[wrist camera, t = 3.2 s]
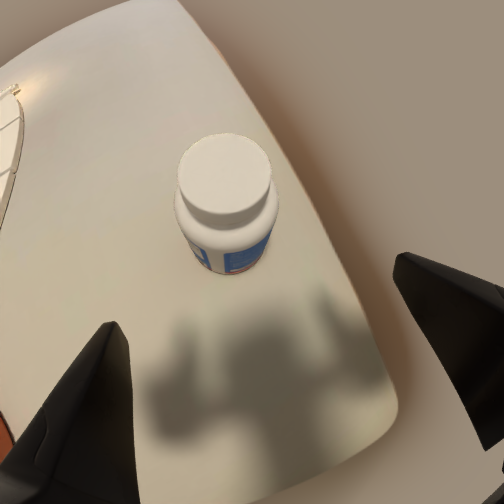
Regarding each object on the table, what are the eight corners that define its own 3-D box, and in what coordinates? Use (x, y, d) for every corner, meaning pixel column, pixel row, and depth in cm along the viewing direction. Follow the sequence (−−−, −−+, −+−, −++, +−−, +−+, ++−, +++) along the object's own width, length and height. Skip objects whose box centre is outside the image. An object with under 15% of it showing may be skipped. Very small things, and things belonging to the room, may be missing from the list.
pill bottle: (270, 212, 21) (299, 134, 12) (257, 281, 20) (283, 245, 11) (200, 198, 21) (183, 114, 12) (182, 266, 20) (144, 217, 11)
